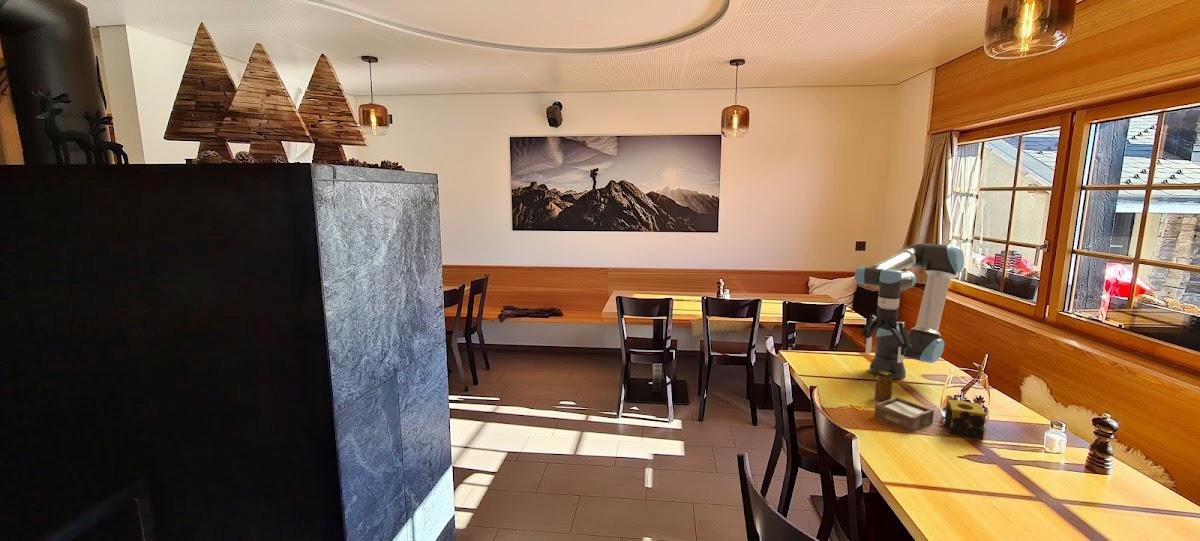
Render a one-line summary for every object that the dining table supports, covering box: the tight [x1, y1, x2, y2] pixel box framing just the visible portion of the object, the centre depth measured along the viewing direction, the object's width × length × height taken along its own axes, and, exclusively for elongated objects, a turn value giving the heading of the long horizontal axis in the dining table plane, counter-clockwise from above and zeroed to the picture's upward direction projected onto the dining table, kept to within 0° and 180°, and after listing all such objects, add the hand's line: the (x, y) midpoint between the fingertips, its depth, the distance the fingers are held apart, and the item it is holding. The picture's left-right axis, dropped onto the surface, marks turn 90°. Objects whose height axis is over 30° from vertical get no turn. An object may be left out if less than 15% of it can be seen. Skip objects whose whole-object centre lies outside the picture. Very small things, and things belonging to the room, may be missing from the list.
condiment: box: [870, 371, 894, 403], centre depth 205 cm, size 7×8×12 cm
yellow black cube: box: [944, 398, 987, 440], centre depth 179 cm, size 10×10×10 cm
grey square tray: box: [873, 396, 935, 433], centre depth 188 cm, size 14×14×5 cm
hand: (883, 357), depth 203 cm, fingers open, 13 cm apart
